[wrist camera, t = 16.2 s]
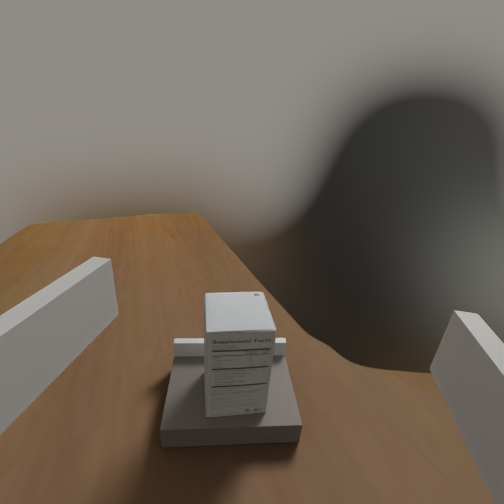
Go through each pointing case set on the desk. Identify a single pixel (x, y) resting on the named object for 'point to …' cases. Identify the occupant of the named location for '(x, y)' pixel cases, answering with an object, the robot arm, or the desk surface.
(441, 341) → the robot arm
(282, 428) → the shelf board
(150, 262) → the desk surface
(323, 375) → the desk surface
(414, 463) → the desk surface
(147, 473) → the desk surface
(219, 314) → the supplement box
